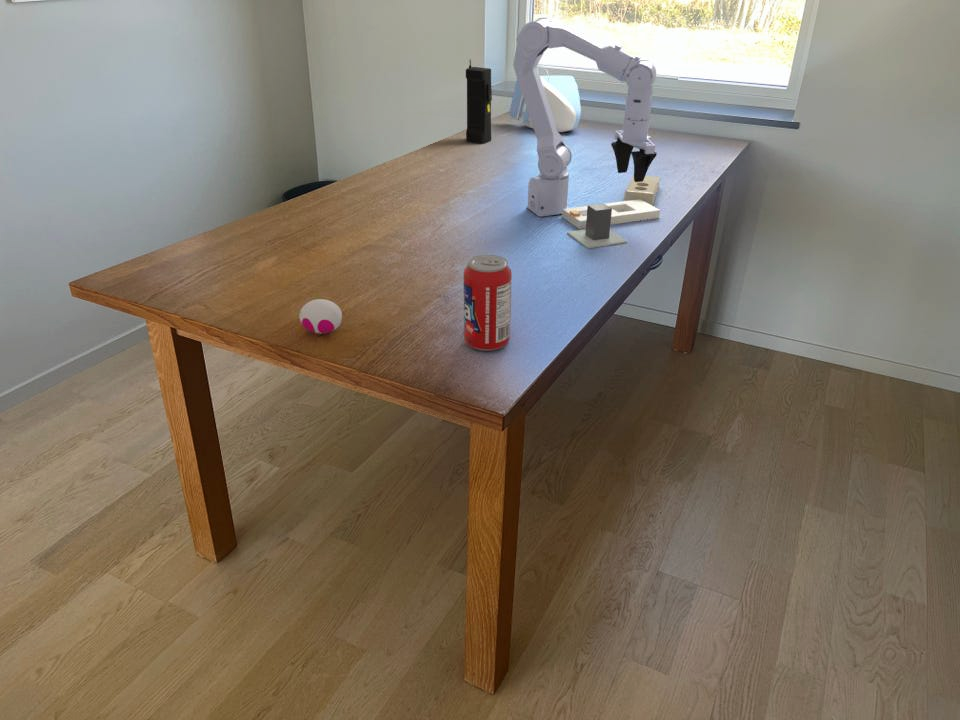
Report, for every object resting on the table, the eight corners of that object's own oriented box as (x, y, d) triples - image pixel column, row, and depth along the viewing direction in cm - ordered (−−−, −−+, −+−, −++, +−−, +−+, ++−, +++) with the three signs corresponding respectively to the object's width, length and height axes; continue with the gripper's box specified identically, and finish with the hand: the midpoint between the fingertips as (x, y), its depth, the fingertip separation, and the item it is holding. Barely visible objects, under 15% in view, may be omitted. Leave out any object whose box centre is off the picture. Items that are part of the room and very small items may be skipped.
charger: (593, 240, 169) (596, 210, 166) (585, 234, 172) (587, 205, 169) (609, 238, 170) (611, 208, 167) (600, 232, 174) (603, 203, 170)
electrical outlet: (660, 173, 203) (653, 193, 188) (658, 188, 205) (651, 209, 190) (633, 171, 205) (624, 191, 190) (632, 186, 207) (623, 206, 192)
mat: (587, 248, 166) (587, 246, 166) (567, 233, 174) (567, 231, 174) (626, 242, 169) (627, 241, 169) (604, 228, 177) (605, 226, 177)
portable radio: (495, 140, 247) (496, 60, 235) (485, 144, 243) (486, 62, 230) (474, 137, 251) (475, 58, 238) (465, 141, 246) (464, 60, 234)
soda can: (506, 356, 125) (508, 273, 117) (459, 352, 126) (459, 269, 118) (512, 334, 131) (515, 254, 124) (468, 330, 133) (468, 251, 125)
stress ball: (301, 350, 133) (288, 332, 127) (311, 310, 136) (298, 292, 130) (342, 352, 132) (330, 335, 126) (351, 312, 135) (340, 294, 129)
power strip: (579, 229, 177) (580, 218, 175) (562, 216, 184) (562, 206, 182) (659, 217, 184) (660, 207, 182) (639, 206, 191) (640, 196, 189)
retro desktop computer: (522, 53, 251) (556, 48, 260) (508, 116, 267) (541, 109, 275) (571, 86, 239) (605, 80, 248) (553, 149, 255) (586, 141, 263)
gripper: (669, 123, 166) (661, 183, 173) (635, 110, 178) (629, 167, 185) (642, 126, 164) (635, 186, 171) (609, 112, 176) (604, 169, 183)
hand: (630, 176), depth 178 cm, fingers open, 7 cm apart
